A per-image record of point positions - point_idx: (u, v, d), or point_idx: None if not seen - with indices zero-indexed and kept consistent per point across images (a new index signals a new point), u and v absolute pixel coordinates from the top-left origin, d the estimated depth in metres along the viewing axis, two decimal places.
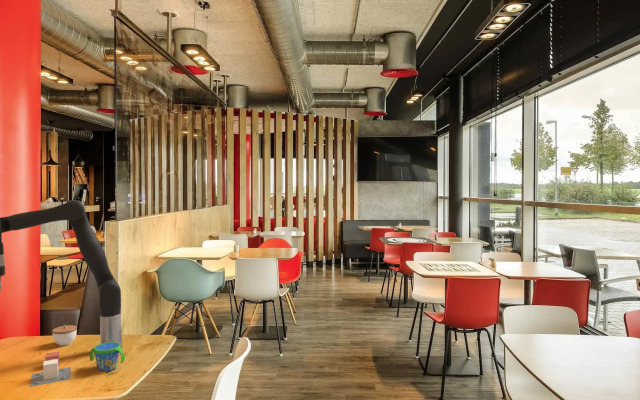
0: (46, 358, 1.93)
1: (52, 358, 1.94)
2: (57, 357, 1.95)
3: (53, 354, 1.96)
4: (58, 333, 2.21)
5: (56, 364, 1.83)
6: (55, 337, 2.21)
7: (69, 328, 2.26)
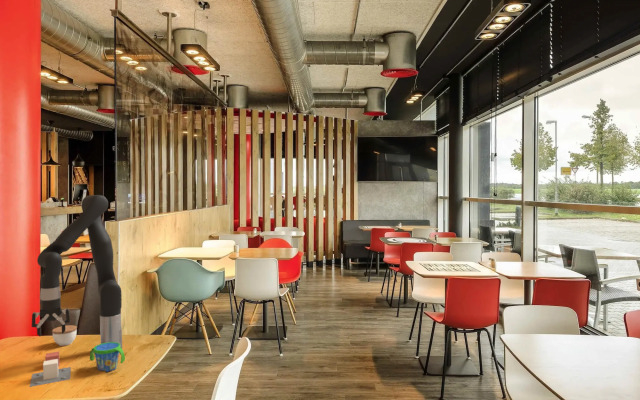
0: (46, 358, 1.93)
1: (52, 358, 1.94)
2: (57, 357, 1.95)
3: (53, 354, 1.96)
4: (58, 333, 2.21)
5: (56, 364, 1.83)
6: (55, 337, 2.21)
7: (69, 328, 2.26)
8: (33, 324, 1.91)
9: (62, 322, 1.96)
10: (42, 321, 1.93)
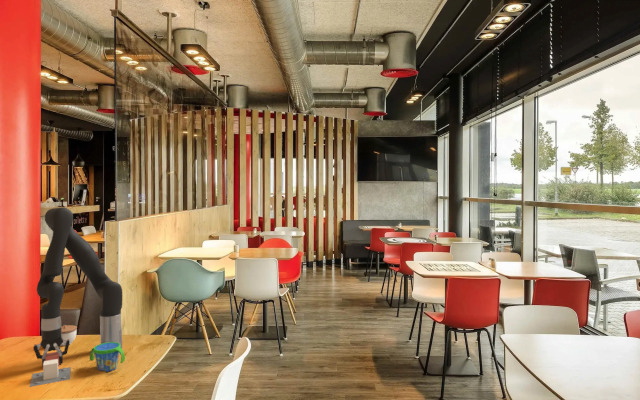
0: (46, 358, 1.93)
1: (52, 358, 1.94)
2: (57, 357, 1.95)
3: (53, 354, 1.96)
4: None
5: (56, 364, 1.83)
6: None
7: (69, 328, 2.26)
8: (38, 356, 1.93)
9: (59, 354, 1.96)
10: (45, 352, 1.93)
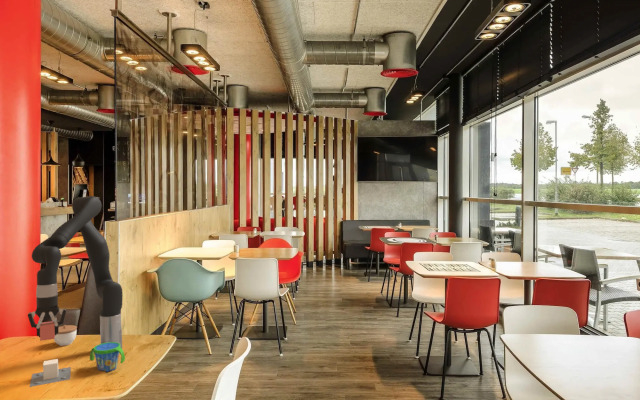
0: (41, 327, 1.81)
1: (47, 327, 1.82)
2: (52, 326, 1.83)
3: (48, 323, 1.85)
4: (58, 333, 2.21)
5: (56, 364, 1.83)
6: (55, 337, 2.21)
7: (69, 328, 2.26)
8: (33, 324, 1.81)
9: (55, 323, 1.85)
10: (40, 320, 1.82)
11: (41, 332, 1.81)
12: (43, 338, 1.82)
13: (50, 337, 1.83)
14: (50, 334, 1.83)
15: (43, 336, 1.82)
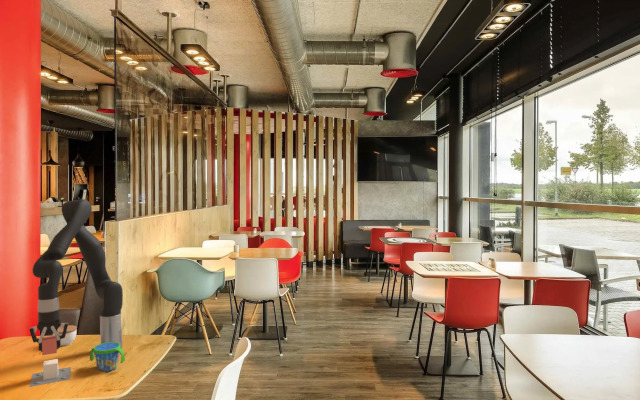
0: (43, 341, 1.81)
1: (49, 342, 1.82)
2: (54, 341, 1.83)
3: (50, 337, 1.84)
4: None
5: (56, 364, 1.83)
6: None
7: (69, 328, 2.26)
8: (35, 339, 1.81)
9: (57, 338, 1.84)
10: (42, 335, 1.82)
11: (43, 347, 1.81)
12: (45, 352, 1.81)
13: (52, 351, 1.83)
14: (53, 349, 1.83)
15: (45, 351, 1.82)
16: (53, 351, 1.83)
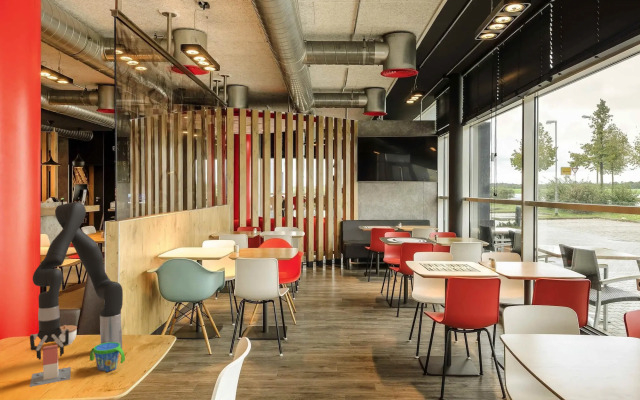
0: (43, 351, 1.81)
1: (50, 352, 1.82)
2: (55, 350, 1.83)
3: (51, 347, 1.84)
4: None
5: (56, 364, 1.83)
6: None
7: (69, 328, 2.26)
8: (32, 347, 1.80)
9: (60, 344, 1.85)
10: (41, 343, 1.81)
11: (44, 357, 1.81)
12: (46, 362, 1.82)
13: (53, 361, 1.83)
14: (53, 359, 1.83)
15: (46, 361, 1.82)
16: (54, 361, 1.83)
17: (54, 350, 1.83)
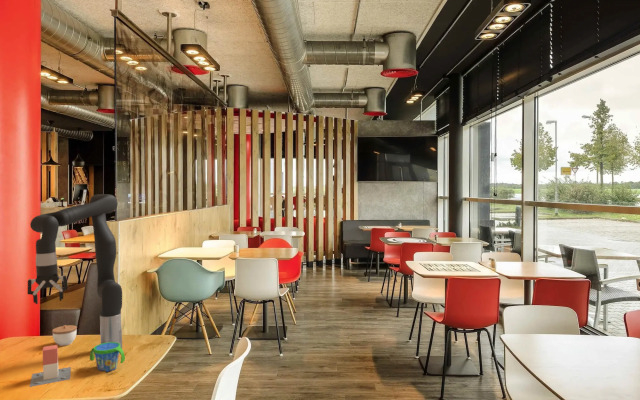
0: (43, 351, 1.81)
1: (50, 352, 1.82)
2: (55, 350, 1.83)
3: (51, 347, 1.84)
4: (58, 333, 2.21)
5: (56, 364, 1.83)
6: (55, 337, 2.21)
7: (69, 328, 2.26)
8: (29, 291, 1.83)
9: (60, 289, 1.88)
10: (38, 288, 1.84)
11: (44, 357, 1.81)
12: (46, 362, 1.82)
13: (53, 361, 1.83)
14: (53, 359, 1.83)
15: (46, 361, 1.82)
16: (54, 361, 1.83)
17: (54, 350, 1.83)
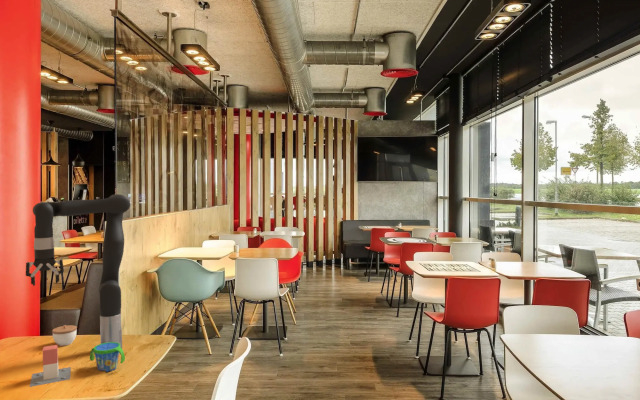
0: (43, 351, 1.81)
1: (50, 352, 1.82)
2: (55, 350, 1.83)
3: (51, 347, 1.84)
4: (58, 333, 2.21)
5: (56, 364, 1.83)
6: (55, 337, 2.21)
7: (69, 328, 2.26)
8: (27, 273, 1.94)
9: (56, 272, 1.99)
10: (36, 270, 1.95)
11: (44, 357, 1.81)
12: (46, 362, 1.82)
13: (53, 361, 1.83)
14: (53, 359, 1.83)
15: (46, 361, 1.82)
16: (54, 361, 1.83)
17: (54, 350, 1.83)
